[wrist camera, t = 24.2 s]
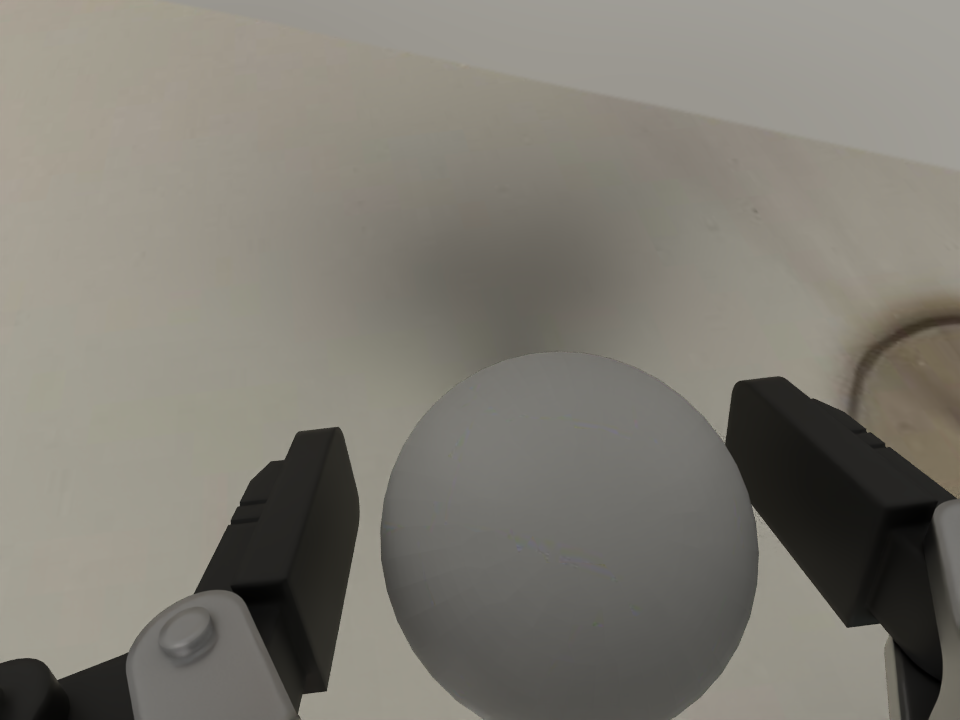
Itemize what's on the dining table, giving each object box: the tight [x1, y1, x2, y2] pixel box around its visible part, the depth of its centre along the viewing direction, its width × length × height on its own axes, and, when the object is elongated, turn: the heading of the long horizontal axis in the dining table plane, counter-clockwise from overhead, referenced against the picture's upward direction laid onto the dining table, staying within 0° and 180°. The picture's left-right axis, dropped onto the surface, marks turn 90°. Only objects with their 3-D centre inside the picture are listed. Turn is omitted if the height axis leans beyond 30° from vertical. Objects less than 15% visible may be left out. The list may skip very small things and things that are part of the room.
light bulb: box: [381, 351, 759, 720], centre depth 11 cm, size 6×6×10 cm
